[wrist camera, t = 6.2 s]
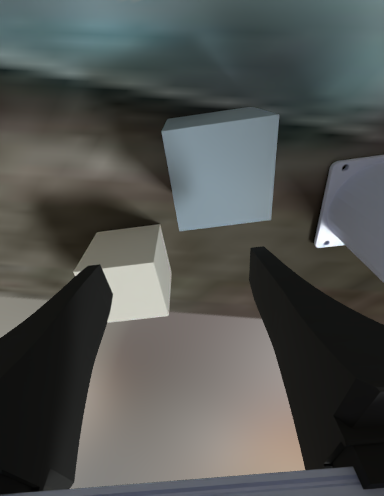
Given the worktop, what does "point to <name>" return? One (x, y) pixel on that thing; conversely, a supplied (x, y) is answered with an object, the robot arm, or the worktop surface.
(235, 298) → the worktop surface
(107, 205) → the worktop surface
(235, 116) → the cover
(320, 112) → the worktop surface
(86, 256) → the cover
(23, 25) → the worktop surface
